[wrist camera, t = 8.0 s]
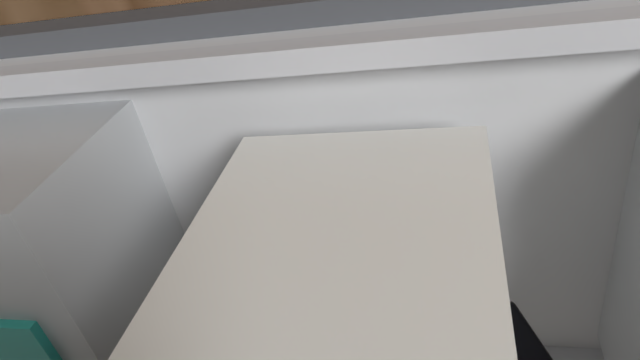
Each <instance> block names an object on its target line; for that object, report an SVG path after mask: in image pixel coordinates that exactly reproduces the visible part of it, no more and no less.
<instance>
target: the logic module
mask: <svg viewBox="0 0 640 360" xmlns="http://www.w3.org/2000/svg"><path fill="white" fill-rule="evenodd" d="M108 360H518V359H517V351H516V344H515V337H514V329H513V322H512V314H511V307H510V299H509V292H508V284H507V277H506V270H505V262H504V255H503V247H502V240H501V232H500V225H499V217H498V210H497V202H496V195H495V188H494V180H493V173H492V165H491V158H490V150H489V143H488V135H487V128H486V126H465V127H444V128H423V129H402V130H381V131H360V132H339V133H318V134H297V135H276V136H254V137H243V139H242V141H241V142H240V144H239V146H238V147H237V149H236V151H235V152H234V154H233V155H232V157H231V159H230V160H229V162H228V164H227V165H226V167H225V169H224V170H223V172H222V173H221V175H220V177H219V178H218V180H217V182H216V183H215V185H214V187H213V188H212V190H211V191H210V193H209V195H208V196H207V198H206V200H205V201H204V203H203V205H202V206H201V208H200V209H199V211H198V213H197V214H196V216H195V218H194V219H193V221H192V223H191V224H190V226H189V227H188V229H187V231H186V232H185V234H184V236H183V237H182V239H181V241H180V242H179V244H178V246H177V247H176V249H175V250H174V252H173V254H172V255H171V257H170V259H169V260H168V262H167V264H166V265H165V267H164V268H163V270H162V272H161V273H160V275H159V277H158V278H157V280H156V282H155V283H154V285H153V286H152V288H151V290H150V291H149V293H148V295H147V296H146V298H145V300H144V301H143V303H142V304H141V306H140V308H139V309H138V311H137V313H136V314H135V316H134V318H133V319H132V321H131V322H130V324H129V326H128V327H127V329H126V331H125V332H124V334H123V336H122V337H121V339H120V340H119V342H118V344H117V345H116V347H115V349H114V350H113V352H112V354H111V355H110V357H109V359H108Z"/></svg>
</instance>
